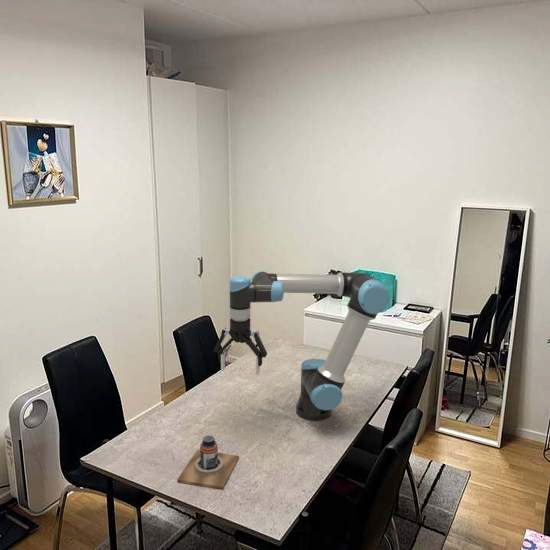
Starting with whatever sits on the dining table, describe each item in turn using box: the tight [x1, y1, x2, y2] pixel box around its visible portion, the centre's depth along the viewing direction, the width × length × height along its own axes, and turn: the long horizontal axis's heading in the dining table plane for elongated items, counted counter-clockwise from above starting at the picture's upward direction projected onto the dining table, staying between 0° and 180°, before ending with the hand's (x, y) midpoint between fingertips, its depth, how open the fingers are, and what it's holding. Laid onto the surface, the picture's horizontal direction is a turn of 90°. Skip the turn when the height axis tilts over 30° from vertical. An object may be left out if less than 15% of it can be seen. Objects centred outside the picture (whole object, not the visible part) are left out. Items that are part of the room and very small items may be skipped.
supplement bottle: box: [199, 435, 219, 470], centre depth 177 cm, size 6×6×11 cm
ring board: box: [176, 449, 240, 491], centre depth 178 cm, size 16×18×3 cm
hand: (240, 371), depth 193 cm, fingers open, 13 cm apart
